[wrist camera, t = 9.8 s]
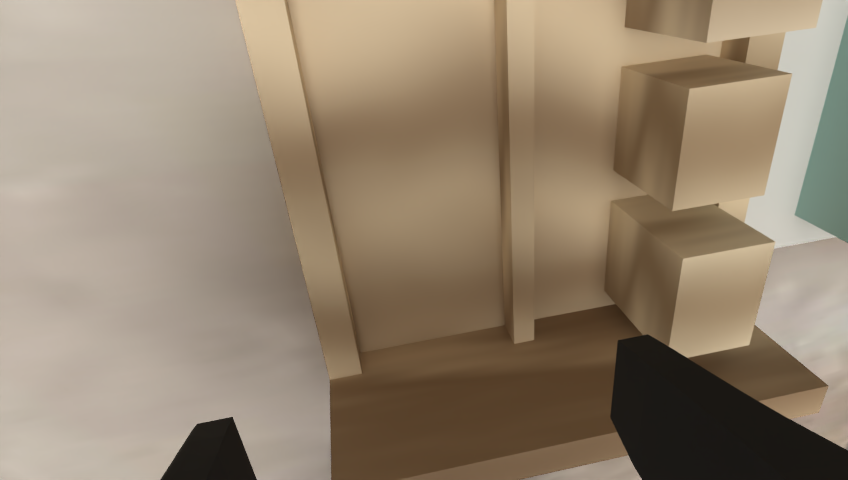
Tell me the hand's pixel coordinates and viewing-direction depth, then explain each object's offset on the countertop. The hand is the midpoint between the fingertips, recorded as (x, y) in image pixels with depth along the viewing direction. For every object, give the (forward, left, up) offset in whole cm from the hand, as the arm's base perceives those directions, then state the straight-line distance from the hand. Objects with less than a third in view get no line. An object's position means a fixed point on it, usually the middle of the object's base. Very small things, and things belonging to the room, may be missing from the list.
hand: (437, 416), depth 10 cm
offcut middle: (+2, -10, -9) cm, 14 cm away
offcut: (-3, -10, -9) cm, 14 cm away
